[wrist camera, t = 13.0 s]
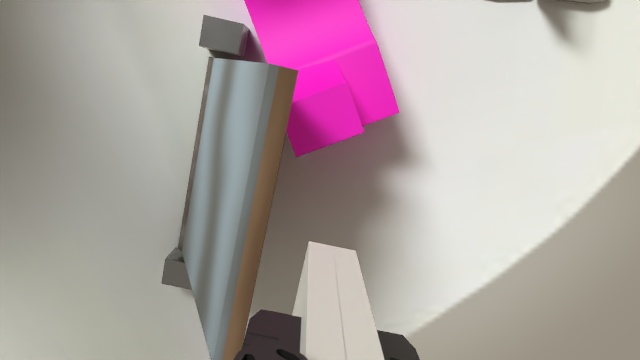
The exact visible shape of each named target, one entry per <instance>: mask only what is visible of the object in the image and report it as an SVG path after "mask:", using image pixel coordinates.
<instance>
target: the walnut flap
mask: <svg viewBox="0 0 640 360" xmlns="http://www.w3.org/2000/svg"><path fill="white" fill-rule="evenodd" d="M297 75H298V70H295V69H291V68H286V67H282V66H278V65H274V64H270V63H261V62H251V61H241V60H231V59H221V58H212V57H209V60H208V66H207V72H206V79H205V85H204V91H203V97H202V103H201V109H200V115H199V122H198V128H197V134H196V140H195V146H194V152H193V159H192V165H191V171H190V177H189V183H188V189H187V195H186V202H185V208H184V214H183V220H182V226H181V232H180V238H179V245H178V249H179V250H180V251H182V254H183V257H184V261H185V265H186V269H187V272H188V276H189V280H190V283H191V287H192V291H193V294H194V298H195V302H196V306H197V309H198V313H199V317H200V320H201V324H202V328H203V332H204V335H205V339H206V343H207V346H208V350H209V354H210V357H211V360H233V359H234V358H235V356H236V355H237V353H238V352H239V351H240V350H241V349H242V346H243V341H244V336H245V331H246V326H247V321H248V316H249V311H250V306H251V302H252V297H253V292H254V287H255V282H256V277H257V272H258V267H259V262H260V257H261V252H262V247H263V242H264V238H265V233H266V228H267V223H268V218H269V213H270V208H271V203H272V198H273V193H274V188H275V183H276V179H277V174H278V169H279V164H280V159H281V154H282V149H283V144H284V139H285V134H286V129H287V124H288V119H289V115H290V110H291V105H292V100H293V95H294V90H295V85H296V80H297Z"/></svg>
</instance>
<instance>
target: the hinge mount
mask: <svg viewBox="0 0 640 360" xmlns="http://www.w3.org/2000/svg"><path fill="white" fill-rule="evenodd" d="M248 32H249V29H248V28H247V27H246V26H245V25H244V24H241V23H237V22H233V21H228V20H224V19H219V18H215V17H211V16H206V15H204V17H203V24H202V30H201V36H200V43H199V46H201V47H204V48H206V49H210V50H214V51H219V52H223V53H228V54H232V55H236V56H241V57H244V55H245V49H246V43H247V38H248ZM162 284H166V285H171V286H176V287H181V288H187V289H192V287H191V283H190V280H189V276H188V272H187V269H186V265H185V261H184V257H183V254H182V251H180V250H179V249H178V248H175V249H174V250H173V251H172V252H171V253H170V254H169V256H168V257H167V258H166V259H165V265H164V271H163V277H162Z"/></svg>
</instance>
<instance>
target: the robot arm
mask: <svg viewBox="0 0 640 360" xmlns="http://www.w3.org/2000/svg"><path fill="white" fill-rule="evenodd" d="M233 360H420V359H419V357H418V355H417V352H416V349H415V348H414V347H413V346H412V345H411V344H410V343H409V342H408V341H407V339H406V338H405V337H404V336H403V335H399V334H394V333H389V332H384V331H379V330H377V329H376V326H375V322H374V318H373V314H372V310H371V307H370V303H369V299H368V295H367V291H366V288H365V284H364V280H363V276H362V272H361V269H360V265H359V261H358V257H357V254H356V251H355V250H350V249H345V248H340V247H335V246H330V245H326V244H321V243H316V242H311V241H309V243H308V247H307V252H306V256H305V260H304V265H303V269H302V274H301V278H300V282H299V287H298V291H297V296H296V300H295V305H294V309H293V313H292V315H287V314H282V313H277V312H272V311H267V310H262V309H261V310H260V311H259V312H258V313H256V314H255V315H254V316H253V317H252V318H250V320H249V324H248V327H247V331H246V335H245V338H244V342H243V346H242V349H241V350H240V351H239V352H238V353H237V355H236V356H235V358H234V359H233Z"/></svg>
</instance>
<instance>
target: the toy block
mask: <svg viewBox="0 0 640 360" xmlns="http://www.w3.org/2000/svg"><path fill="white" fill-rule="evenodd" d="M244 1H245V4H246V6H247V9H248V11H249V14H250V16H251V19H252V22H253V24H254V27H255V30H256V32H257V35H258V38H259V41H260V43H261V46H262V49H263V52H264V55H265V58H266V61H267V63H270V64H274V65H278V66H282V67H286V68H291V69H295V70H298V75H297V80H296V85H295V90H294V95H293V100H292V105H291V110H290V115H289V119H288V124H287V129H286V132H287V134H288V137H289V139H290V142H291V145H292V147H293V150H294V153H295V155H296V157H298V156H301V155H303V154H306V153H309V152H312V151H314V150H317V149H320V148H323V147H325V146H328V145H331V144H333V143H336V142H339V141H342V140H344V139H347V138H350V137H353V136H355V135H358V134H361V133H363V132H364V130H363V127H362V126H364V125H367V124H369V123H372V122H375V121H378V120H380V119H383V118H386V117H388V116H391V115H394V114H397V113H399V109H398V106H397V103H396V100H395V97H394V94H393V91H392V88H391V85H390V81H389V78H388V75H387V72H386V69H385V66H384V63H383V60H382V57H381V54H380V51H379V48H378V45H377V42H376V40H375V38H374V36H373V34H372V32H371V30H370V28H369V25H368V23H367V21H366V18H365V16H364V13H363V11H362V8H361V6H360V3H359V0H244Z"/></svg>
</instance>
